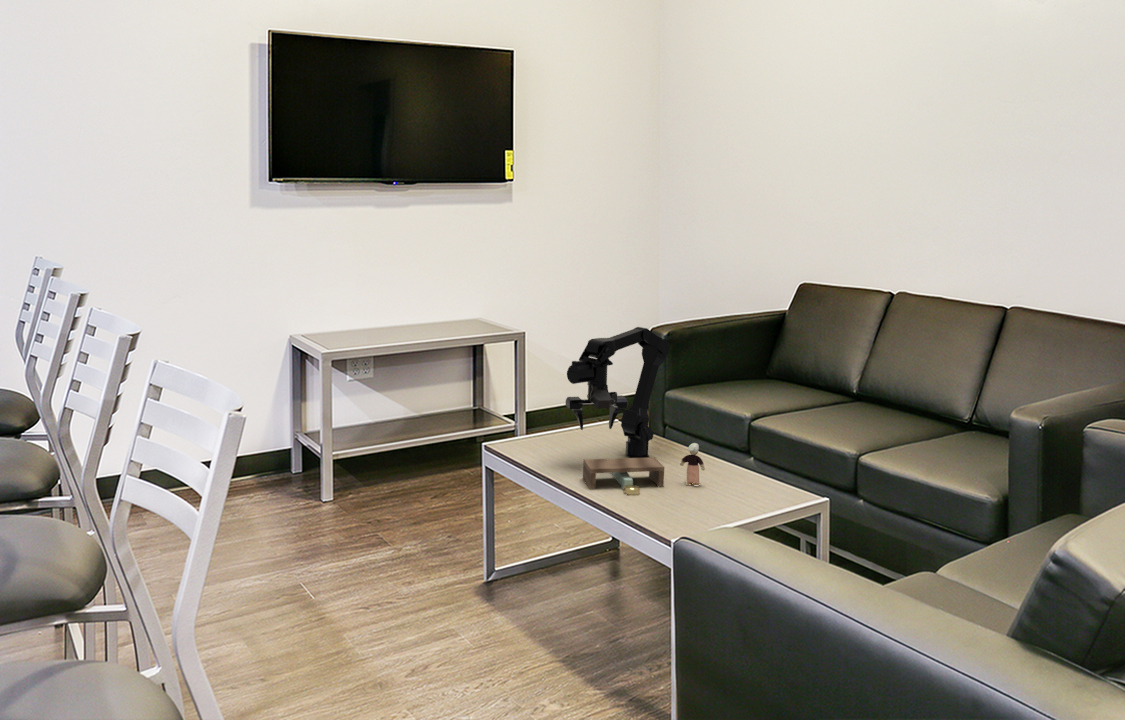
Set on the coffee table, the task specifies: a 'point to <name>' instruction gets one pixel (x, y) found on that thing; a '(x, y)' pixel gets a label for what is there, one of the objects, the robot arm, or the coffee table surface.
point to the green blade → (623, 478)
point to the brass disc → (631, 489)
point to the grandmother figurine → (693, 464)
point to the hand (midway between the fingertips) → (595, 429)
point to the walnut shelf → (622, 468)
